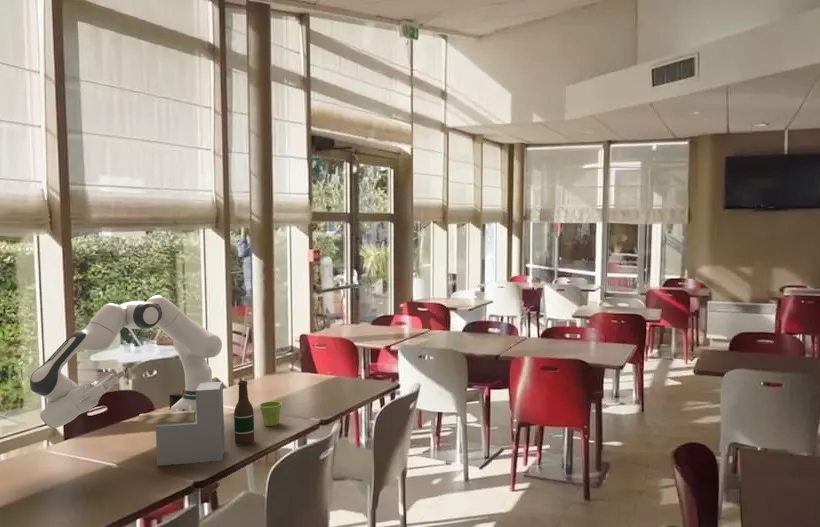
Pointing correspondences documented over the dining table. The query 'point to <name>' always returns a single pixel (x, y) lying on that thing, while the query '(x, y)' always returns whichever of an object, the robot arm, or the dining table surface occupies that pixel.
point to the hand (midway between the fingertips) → (121, 375)
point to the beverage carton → (175, 397)
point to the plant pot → (270, 412)
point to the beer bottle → (243, 417)
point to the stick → (166, 417)
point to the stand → (195, 431)
